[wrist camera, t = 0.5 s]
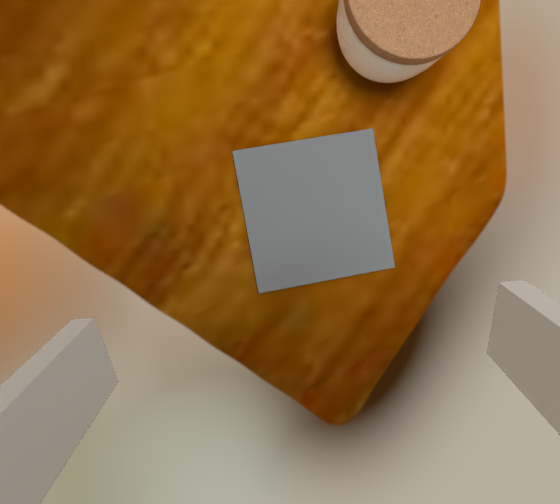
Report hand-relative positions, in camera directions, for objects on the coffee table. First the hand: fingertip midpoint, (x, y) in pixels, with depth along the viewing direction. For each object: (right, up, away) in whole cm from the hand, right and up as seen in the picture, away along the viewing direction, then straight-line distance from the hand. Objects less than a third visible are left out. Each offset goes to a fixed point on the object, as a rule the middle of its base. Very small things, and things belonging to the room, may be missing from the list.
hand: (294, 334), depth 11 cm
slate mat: (+3, +7, +21) cm, 23 cm away
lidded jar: (+9, +23, +21) cm, 33 cm away
